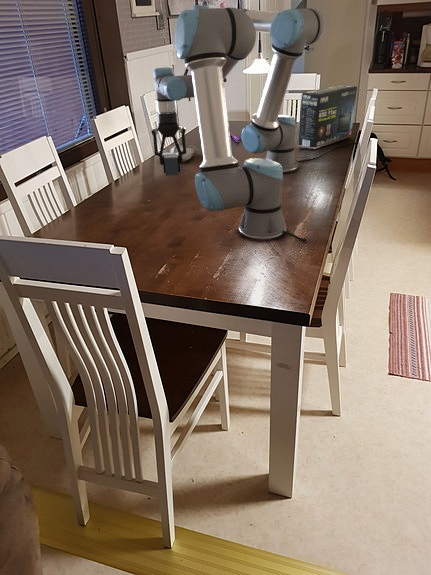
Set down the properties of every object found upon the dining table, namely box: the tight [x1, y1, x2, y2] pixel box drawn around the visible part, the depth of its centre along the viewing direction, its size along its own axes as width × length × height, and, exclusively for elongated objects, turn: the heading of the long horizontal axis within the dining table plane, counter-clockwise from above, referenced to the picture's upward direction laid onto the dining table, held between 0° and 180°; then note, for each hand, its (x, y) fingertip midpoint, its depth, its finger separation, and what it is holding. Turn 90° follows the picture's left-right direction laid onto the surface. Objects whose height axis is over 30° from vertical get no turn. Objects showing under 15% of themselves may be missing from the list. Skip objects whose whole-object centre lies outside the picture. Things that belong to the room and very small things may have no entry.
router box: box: [297, 84, 358, 151], centre depth 238 cm, size 36×11×27 cm, turn 134°
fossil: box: [163, 142, 199, 163], centre depth 229 cm, size 18×11×15 cm
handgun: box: [231, 134, 241, 144], centre depth 258 cm, size 21×8×2 cm, turn 11°
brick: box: [164, 154, 180, 177], centre depth 187 cm, size 5×6×7 cm
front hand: (172, 171), depth 188 cm, fingers closed on brick, 5 cm apart
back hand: (204, 100), depth 208 cm, fingers open, 13 cm apart
